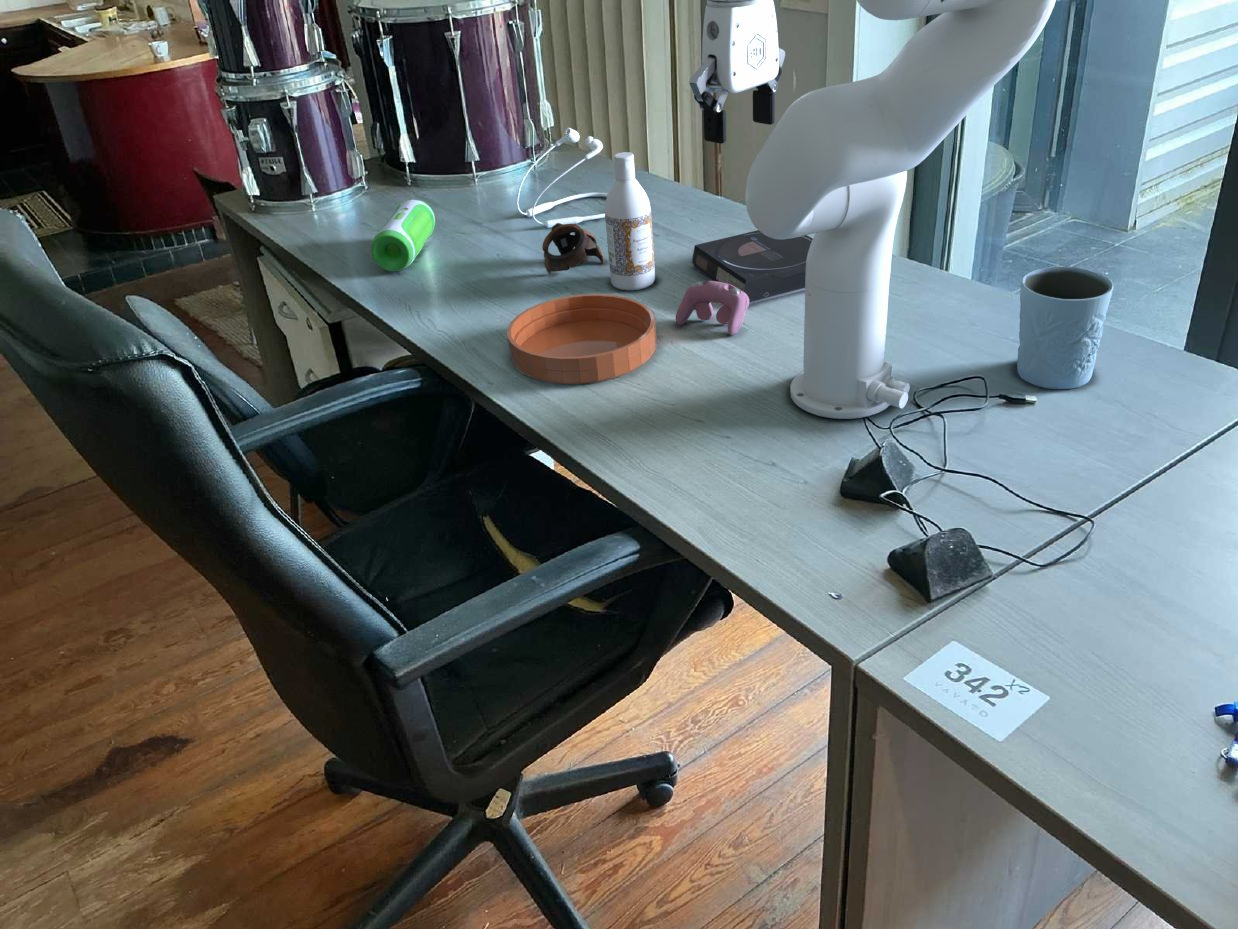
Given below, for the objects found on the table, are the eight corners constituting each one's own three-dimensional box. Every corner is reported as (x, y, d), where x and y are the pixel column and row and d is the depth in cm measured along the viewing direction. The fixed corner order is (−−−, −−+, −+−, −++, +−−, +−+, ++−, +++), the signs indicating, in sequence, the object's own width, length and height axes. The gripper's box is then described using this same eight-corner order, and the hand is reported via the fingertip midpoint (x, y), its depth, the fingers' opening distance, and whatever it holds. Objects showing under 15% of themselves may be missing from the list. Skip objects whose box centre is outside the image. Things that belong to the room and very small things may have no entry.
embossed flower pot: (1086, 398, 123) (1104, 305, 116) (999, 382, 127) (1011, 292, 121) (1103, 362, 130) (1120, 271, 123) (1019, 348, 134) (1032, 260, 128)
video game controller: (746, 337, 147) (756, 287, 145) (733, 336, 143) (742, 285, 141) (685, 325, 151) (694, 277, 150) (670, 323, 147) (679, 274, 146)
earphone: (500, 197, 190) (559, 117, 189) (559, 248, 201) (615, 173, 201) (533, 216, 180) (595, 132, 179) (593, 269, 191) (652, 190, 190)
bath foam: (627, 295, 158) (616, 165, 147) (602, 282, 163) (590, 155, 153) (664, 282, 161) (656, 154, 150) (638, 270, 166) (629, 144, 155)
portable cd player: (692, 269, 165) (691, 245, 163) (785, 247, 170) (785, 223, 168) (742, 306, 152) (742, 280, 150) (842, 280, 157) (843, 255, 155)
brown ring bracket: (618, 269, 168) (599, 236, 162) (572, 305, 168) (551, 273, 162) (583, 232, 175) (564, 198, 169) (539, 265, 175) (517, 233, 169)
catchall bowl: (686, 343, 143) (685, 317, 141) (580, 401, 132) (576, 373, 129) (586, 307, 156) (584, 283, 153) (481, 357, 144) (476, 331, 142)
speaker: (401, 237, 188) (393, 196, 184) (441, 235, 187) (433, 195, 183) (373, 275, 173) (364, 232, 169) (416, 274, 172) (407, 230, 168)
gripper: (714, 3, 118) (718, 153, 127) (806, -22, 128) (804, 119, 137) (666, -1, 123) (673, 144, 132) (758, -25, 132) (759, 112, 142)
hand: (739, 132), depth 134 cm, fingers open, 9 cm apart
